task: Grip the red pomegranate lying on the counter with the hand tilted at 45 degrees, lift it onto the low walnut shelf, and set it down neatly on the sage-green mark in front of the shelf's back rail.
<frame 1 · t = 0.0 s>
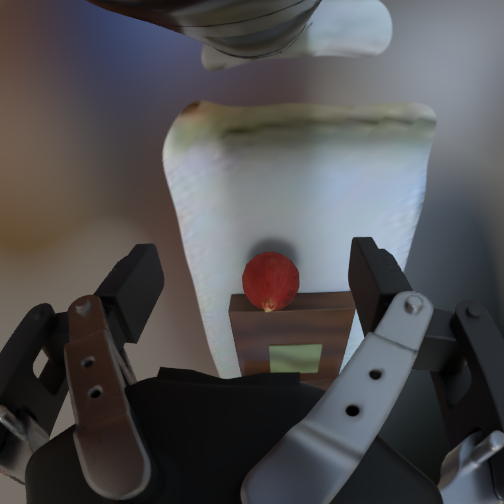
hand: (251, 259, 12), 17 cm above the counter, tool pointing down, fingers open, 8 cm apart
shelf: (291, 336, 40), on the counter
red pomegranate: (271, 258, 33), on the counter
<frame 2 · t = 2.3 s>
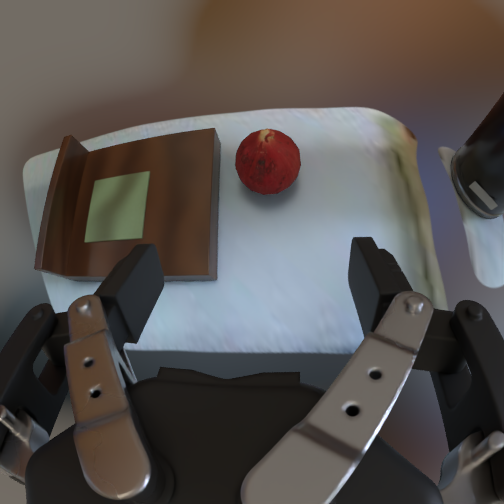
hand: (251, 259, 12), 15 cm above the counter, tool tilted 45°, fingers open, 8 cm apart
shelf: (142, 211, 30), on the counter
red pomegranate: (270, 181, 29), on the counter
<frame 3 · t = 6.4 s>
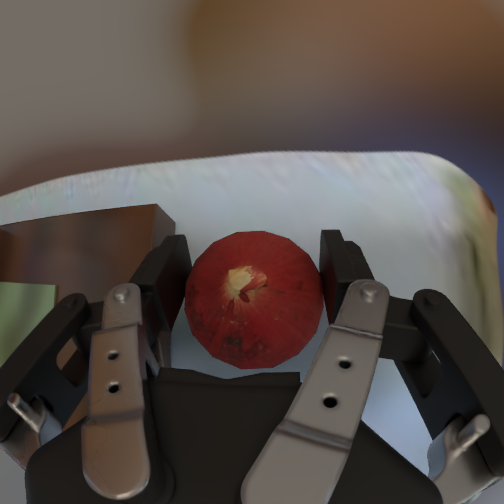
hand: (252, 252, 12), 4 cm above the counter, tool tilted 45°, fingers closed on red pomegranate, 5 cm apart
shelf: (63, 333, 17), on the counter
red pomegranate: (261, 307, 16), on the counter, touching gripper
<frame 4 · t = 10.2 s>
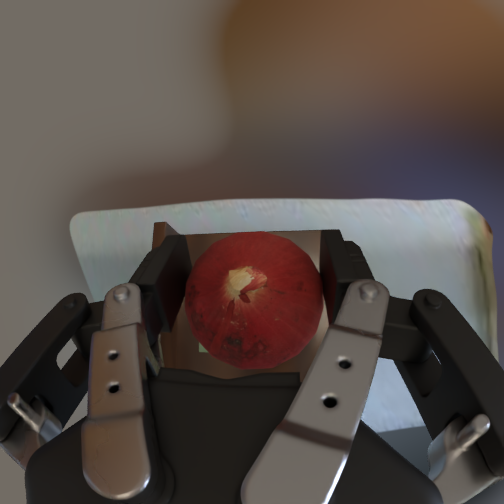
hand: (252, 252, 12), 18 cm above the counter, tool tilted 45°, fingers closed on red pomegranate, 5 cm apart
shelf: (255, 311, 29), on the counter
red pomegranate: (261, 308, 16), point 14 cm above the counter, touching gripper
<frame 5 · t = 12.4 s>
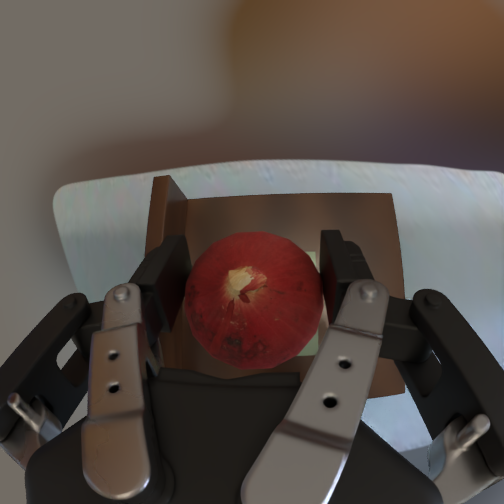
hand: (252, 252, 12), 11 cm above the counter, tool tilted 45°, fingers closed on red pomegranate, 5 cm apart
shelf: (286, 300, 22), on the counter
red pomegranate: (261, 308, 16), point 6 cm above the counter, touching gripper
when the fingers open (8 cm above the counter, at t = 13.9 s): red pomegranate stays where it is, resting on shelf.
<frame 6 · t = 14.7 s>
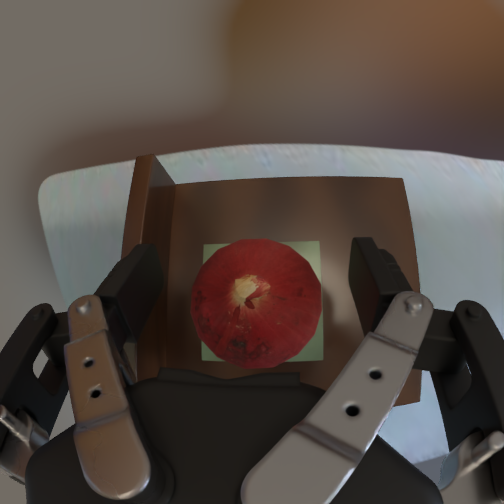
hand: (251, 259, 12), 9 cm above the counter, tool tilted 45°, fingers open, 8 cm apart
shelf: (286, 297, 20), on the counter
red pomegranate: (262, 309, 17), point 3 cm above the counter, touching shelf
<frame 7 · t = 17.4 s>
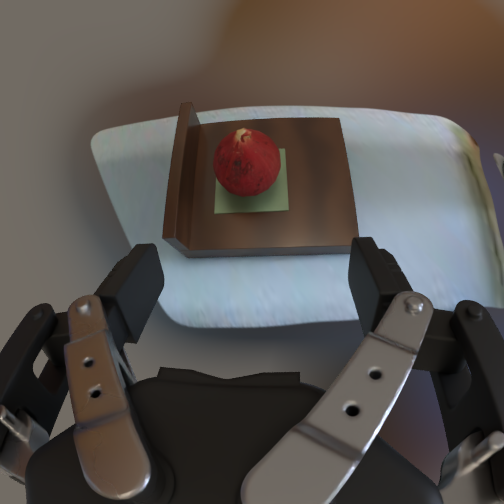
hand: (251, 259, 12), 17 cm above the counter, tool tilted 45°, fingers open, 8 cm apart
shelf: (267, 188, 31), on the counter
red pomegranate: (251, 183, 28), point 3 cm above the counter, touching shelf
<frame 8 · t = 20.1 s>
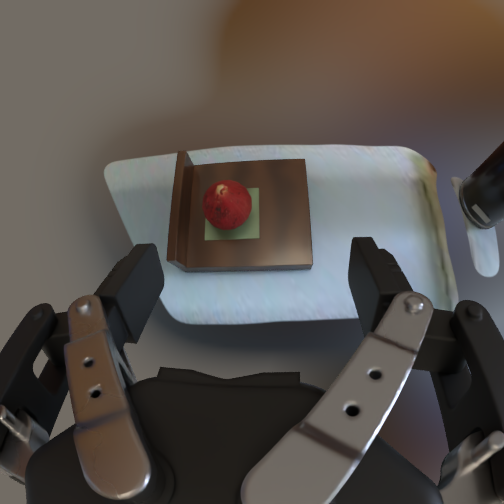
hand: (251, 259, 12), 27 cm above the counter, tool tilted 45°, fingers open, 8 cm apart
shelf: (246, 217, 41), on the counter
red pomegranate: (232, 216, 38), point 3 cm above the counter, touching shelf
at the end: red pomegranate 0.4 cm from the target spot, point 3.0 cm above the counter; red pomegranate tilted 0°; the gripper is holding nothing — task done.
